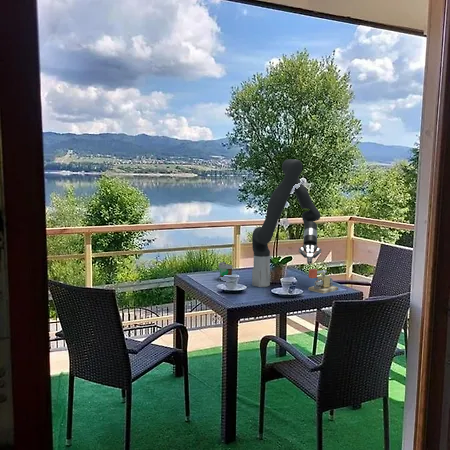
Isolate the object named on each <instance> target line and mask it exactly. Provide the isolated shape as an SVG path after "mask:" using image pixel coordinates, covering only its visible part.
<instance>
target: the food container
mask: <svg viewBox="0 0 450 450" xmlns="http://www.w3.org/2000/svg"><path fill="white" fill-rule="evenodd" d="M217 267H218V269H219V278H220V277H223V276H224V275H232V274H233V265H232V264H229V263H226V261H221V262H219V263H218V266H217Z"/></svg>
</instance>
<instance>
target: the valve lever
mask: <svg viewBox="0 0 450 450" xmlns="http://www.w3.org/2000/svg"><path fill="white" fill-rule="evenodd" d="M326 273H327V270H326V269H321V270H318V268H310V269H308V278H310V279H316V278H317V279H318V274H322V275H321V276H326ZM327 274H328V273H327Z"/></svg>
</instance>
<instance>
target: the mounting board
mask: <svg viewBox="0 0 450 450" xmlns="http://www.w3.org/2000/svg"><path fill="white" fill-rule="evenodd" d="M314 286H315V285H313V286H310V287H308V291H311V292H315V293H319V294H327V293H331V292H335V290H336V291H339V287H338V286H335V285H333V286H331V287H325V288H322V287H321V289H315V288H314Z"/></svg>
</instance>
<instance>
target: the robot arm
mask: <svg viewBox="0 0 450 450" xmlns="http://www.w3.org/2000/svg"><path fill="white" fill-rule="evenodd" d="M281 169H282V170H281V171H282V172H283V174H284V178H283V180H282V181H281V182H280V184H279V185H278V186H277V187H276V188H275V189H274V191H273V192H272V194H271V196H270V198H269V201H268V202H267V207H266V216H265V218H264V221H263V224H262V225H261V226H257V227H256V228H255V229H253V231H252V235H251V240H252V241H251V242H252V243H251V245H252V246H251V247H252V251H253V268H252V269H251V275H252V278H251V286H253V287H258V288H266V287H269V286H270V284H271V280H270V277H271V275H270V274H271V251H270V249H269V245H268V244H269V243H270V242H271V241H272V240H273V235H274V233H275V230H276V227H277V223H278V222H279V220H280V217H281V216H282V213H283V211H284V209H285V206H286V204H287V202H288V199H289V197H290V195H291V192H292V191H293V192H294V193H295V197H296V198H297V201H298V204H299V205H300V208H301V209H303V210H305V209H306V210H305V211H304V212H303V213H302V214H301V219H302V221H303V222H302V223H303V226H304V231H303V245H302V247H298V253H300V255H301V256H302V257H303V258H304V259H306V264H308V265H312V263H313V260H314V259H316V258H317V257H318V256H319V255H320V254H321V253H322V248H319V245H318V225H317V223H316V222H317V221H319V220H320V219H321V213H320V211H319V209H318V208H317V207H316V206H315V204H314V203H313V201H312V198H311V196H310V193H309V191H308V189H307V188H306V187H305V186H304V184H303V183H302V181H301V180H300V175H301V173H302V171H303V163H302V162H301V160H300V159H295V158H294V159H292V158H288V159H285V160H284V161H283V163H282V164H281ZM300 182H301V183H302V184H303V185H302V184H301V185H300V187H299V188H298V189H296V188H295V190H293V186H294V185H295V184H298V183H300Z"/></svg>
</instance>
